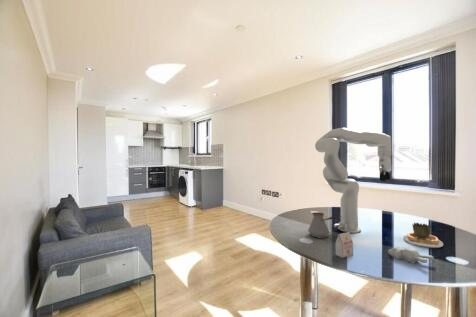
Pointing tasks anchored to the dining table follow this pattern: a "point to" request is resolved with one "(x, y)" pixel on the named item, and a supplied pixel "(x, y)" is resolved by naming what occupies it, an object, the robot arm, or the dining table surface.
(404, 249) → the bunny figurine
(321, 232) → the coffee pot
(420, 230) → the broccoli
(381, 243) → the dining table surface
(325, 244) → the dining table surface
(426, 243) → the rosette plate
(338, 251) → the milk carton
